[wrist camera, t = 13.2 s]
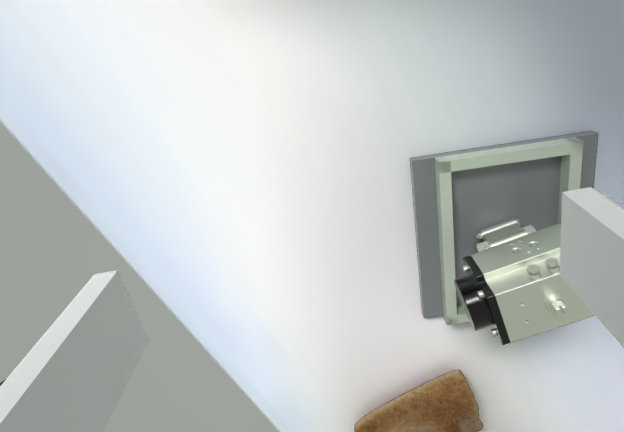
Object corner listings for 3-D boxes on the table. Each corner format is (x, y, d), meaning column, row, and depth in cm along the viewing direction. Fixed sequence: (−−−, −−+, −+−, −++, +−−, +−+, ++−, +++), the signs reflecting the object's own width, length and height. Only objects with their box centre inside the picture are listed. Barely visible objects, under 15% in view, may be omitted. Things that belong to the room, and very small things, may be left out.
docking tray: (409, 157, 41) (415, 165, 39) (591, 130, 40) (608, 137, 38) (421, 312, 48) (427, 327, 45) (578, 293, 46) (591, 307, 44)
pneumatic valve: (567, 236, 43) (652, 309, 32) (447, 278, 45) (489, 361, 34) (554, 185, 41) (641, 245, 30) (430, 231, 43) (468, 304, 32)
